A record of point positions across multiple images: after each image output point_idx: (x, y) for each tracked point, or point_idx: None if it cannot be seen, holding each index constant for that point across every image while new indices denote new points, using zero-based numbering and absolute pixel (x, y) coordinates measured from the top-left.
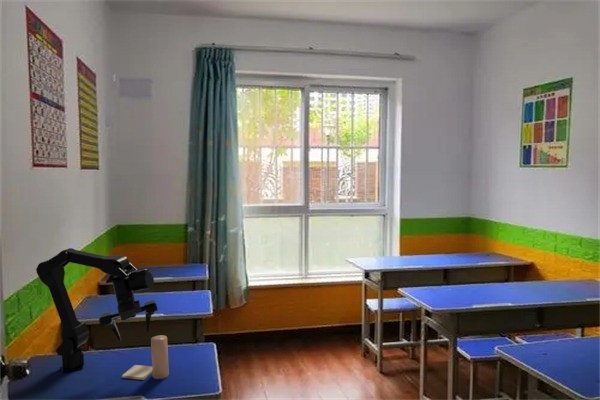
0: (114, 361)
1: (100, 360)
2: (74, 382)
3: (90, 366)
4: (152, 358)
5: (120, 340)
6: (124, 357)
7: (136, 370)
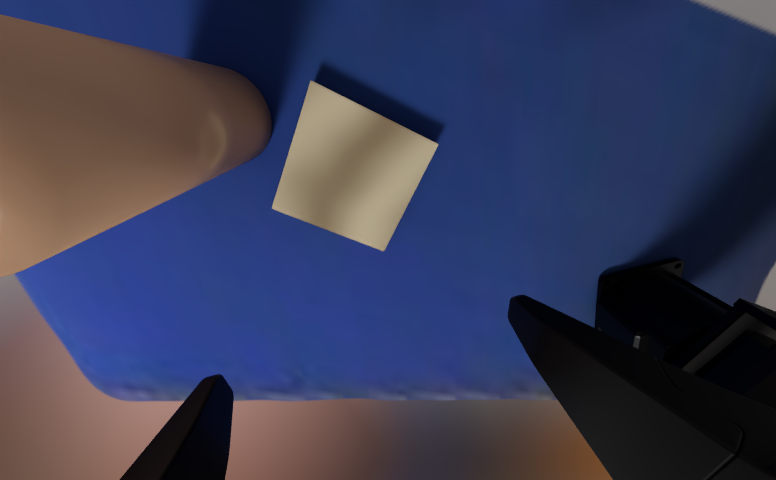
0: (474, 316)
1: None
2: (652, 155)
3: (566, 293)
4: (196, 89)
5: (517, 299)
6: (437, 341)
7: (367, 188)
